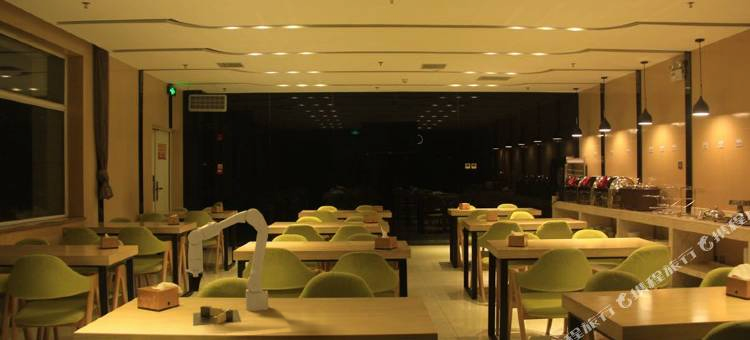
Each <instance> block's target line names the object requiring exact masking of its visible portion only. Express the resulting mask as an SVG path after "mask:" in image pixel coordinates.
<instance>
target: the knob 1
mask: <svg viewBox="0 0 750 340" xmlns="http://www.w3.org/2000/svg"><path fill="white" fill-rule="evenodd" d="M199 309H200V310H199V311H200V315H201V316H209V315H212V316H215V315H219V314H221V313H222V310H223V308H222V307H212V305H202V306H200V308H199Z"/></svg>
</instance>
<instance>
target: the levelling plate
mask: <svg viewBox="0 0 750 340" xmlns="http://www.w3.org/2000/svg"><path fill="white" fill-rule="evenodd" d="M232 310H233V319H231V320H226V321H224V322H222V323H217V315H215V316H212V315H209V316H201V315H200V312H199V311H198V312H193V313H192V326H195V327H196V326H207V325H208V326H209V325H219V324H220V325H222V324H232V323H234V324H235V323H242V319H241V317H240V316H241V315H240V313H239V311H238V310H239V309H232Z"/></svg>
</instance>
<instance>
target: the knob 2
mask: <svg viewBox="0 0 750 340" xmlns="http://www.w3.org/2000/svg"><path fill="white" fill-rule="evenodd" d="M233 310H234V309H230V308H229V309H228V308H227V309H222V313H221V314H219V315H217V323H222V322H224V321H226V320H231V319H233Z"/></svg>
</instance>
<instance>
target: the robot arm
mask: <svg viewBox="0 0 750 340" xmlns="http://www.w3.org/2000/svg"><path fill="white" fill-rule="evenodd" d="M263 215H264V214H262V213H261V212H260V211H259V210H258V208H257V209H256V208H250V209H248V210H244V211H240V212H238V213H235V214H234V215H231V216H230V217H228V218H225V219H224V220H221V221H220V222H216V221H212V222H211V221H209V222H207V224H205V225H204V226H201V227H200V226H199V227H196V229H194V230H191V232H190V233H189V234H188V236H187V241H188V257H187V259H188V261H187V262H188V264H187V265H188V269H185V272H186V273H190V274H188V278H189V280H190V284H191V289H192V292H194V293H195V292H196V293H197V292H199V290H200V286H201V285H200V284H201V280H202V278H203V276H204V274H203V273H202V272H204V267H203V265H204V264H203V263H204V262H203V261H204V260H203V259H204V257H203V242H202V241H206V240H209V239H212V238H213V237H215V236H217V235H220V232H221V230H223V229H226V228H228V227H230V226H232V225H235V224H237V223H238V224H239V223H240V224H241V223H242V224H243V223H244V224H245V223H246V222H247V223H248V224H249V225H250V226H252V227H253V228H254V230H256V231H257V234H256V240H255V245H254V251H253V257H252V263H251V267H250V274H249V275H248V276H247V279H246V288H247V289H246V290H245V310H246V311H248V312H257V311H266V310H269V293H268V290H264V289H263V288H262V286H263V282H262V273H263V267H264V266H263V265H264V261H265V260H264V259H265V254H266V250H267V249H266V248H267V243H268V236H269V232H270V231H269V230H270V228H269V226H268V224H267V222H266V220H265V218H264V216H263Z"/></svg>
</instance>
